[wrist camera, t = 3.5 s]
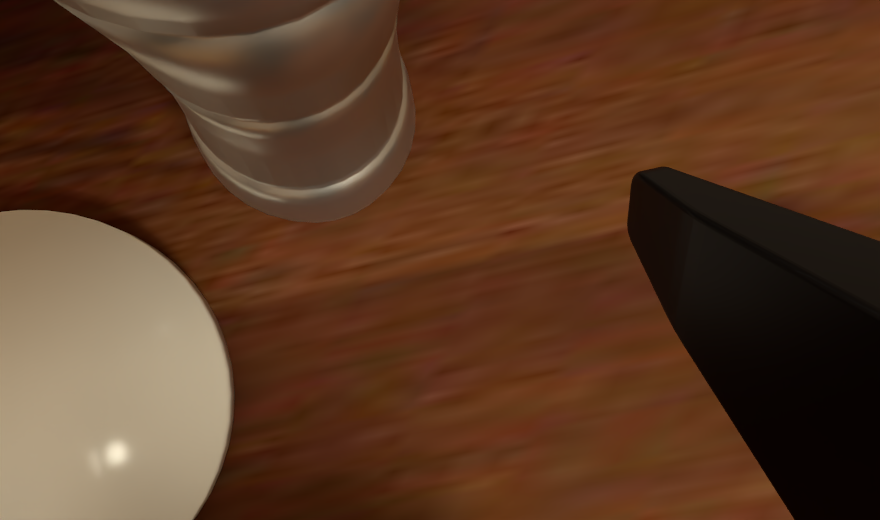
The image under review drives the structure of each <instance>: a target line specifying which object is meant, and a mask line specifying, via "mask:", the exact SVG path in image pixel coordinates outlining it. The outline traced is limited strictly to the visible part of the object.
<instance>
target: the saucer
mask: <svg viewBox="0 0 880 520" xmlns="http://www.w3.org/2000/svg"><path fill="white" fill-rule="evenodd" d="M234 401H235V390H234V380H233V369H232V364H231V360H230V356H229V351H228V347H227V343H226V341H225V338H224V335H223V333H222V330H221V328H220V325H219V322H218V320H217V318H216V317H215V315H214V313H213V311H212V309H211V307H210V306H209V304H208V302H207V300H206V299H205V297H204V296H203V295H202V293H201V292H200V291H199V289H198V288H197V287H196V285H195V284H194V283H193V281H192V280H191V279H190V278H189V277H188V276H187V275H186V274H185V273H184V272H183V271H182V270H181V269H180V268H179V267H178V266H177V265H176V264H175V263H174V262H173V261H172V260H170V259H169V258H168V257H166V256H165V255H164V254H163V253H161V252H160V251H159V250H157V249H156V248H154V247H153V246H151V245H149V244H148V243H146V242H144V241H142V240H141V239H139V238H137V237H136V236H133V235H131V234H129V233H126V232H124V231H121V230H119V229H117V228H114V227H112V226H109V225H107V224H104V223H102V222H99V221H96V220H93V219H89V218H85V217H82V216H78V215H74V214H69V213H62V212H55V211H48V210H14V211H5V212H0V520H194V519H195V518H196V517H197V515H198V514H199V512H200V510H201V509H202V507H203V505H204V504H205V502H206V500H207V499H208V497H209V495H210V494H211V492H212V490H213V487H214V485H215V483H216V481H217V479H218V476H219V474H220V472H221V470H222V467H223V464H224V460H225V457H226V454H227V450H228V447H229V444H230V438H231V432H232V426H233V420H234Z"/></svg>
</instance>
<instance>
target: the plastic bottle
mask: <svg viewBox="0 0 880 520" xmlns="http://www.w3.org/2000/svg"><path fill="white" fill-rule="evenodd" d="M54 1H56V2H57V3H58V4H60V5H61V6H62V7H64V8H65V9H67V10H68V11H70V12H71V13H72V14H74V15H75V16H77V17H78V18H80V19H81V20H82V21H84V22H85V23H87V24H88V25H90V26H91V27H92V28H94V29H95V30H97V31H98V32H100V33H101V34H103V35H104V36H105V37H107V38H108V39H110V40H111V41H113V42H114V43H115V44H117V45H118V46H120V47H121V48H123V49H124V50H125V51H127V52H128V53H129V54H130V55H131V56H132V57H133V58H134V59H135V60H136V61H137V62H139V63H140V64H141V65H142V66H143V67H144V68H145V69H146V70H147V71H148V72H149V73H150V74H151V75H152V76H153V77H154V78H155V79H156V80H158V81H159V82H160V83H162V84H163V85H164V87H165V88H166V89H167V90H168V91H169V92H170V93H171V94H172V95H173V96H174V98H175V99H176V101H177V103H178V104H179V106H180V107H181V109H182V111H183V112H184V114H185V117H186V120H187V122H188V125H189V128H190V131H191V134H192V136H193V139H194V141H195V143H196V145H197V147H198V149H199V151H200V153H201V155H202V156H203V158H204V160H205V161H206V163H207V165H208V166H209V168H210V170H211V171H212V173H213V174H214V176H215V177H216V178H217V179H218V180H219V181H220V182H221V183H222V184H223V185H224V186H225V188H226V189H227V190H228V191H229V192H231V193H232V194H233V195H235V196H236V197H237V198H239V199H240V200H241V201H243V202H244V203H246V204H247V205H249V206H251V207H253V208H255V209H257V210H259V211H261V212H264V213H266V214H268V215H272V216H275V217H279V218H283V219H287V220H292V221H300V222H315V223H317V222H325V221H333V220H338V219H341V218H344V217H347V216H349V215H352V214H355V213H356V212H358V211H360V210H362V209H363V208H365V207H367V206H369V205H370V204H371V203H372V202H374V201H375V200H376V199H377V198H378V197H379V196H380V195H381V194H382V193H384V192H385V191H386V190H387V189H388V187H389V186H390V185H391V184H392V182H393V181H394V180H395V178H396V177H397V175H398V174H399V173H400V171H401V170H402V168H403V166H404V164H405V161H406V159H407V157H408V155H409V153H410V150H411V145H412V141H413V137H414V132H415V105H414V100H413V95H412V89H411V85H410V81H409V76H408V72H407V69H406V67H405V64H404V62H403V59H402V57H401V54H400V52H399V46H398V39H397V32H396V25H397V12H398V8H399V0H54Z"/></svg>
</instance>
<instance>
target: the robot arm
mask: <svg viewBox="0 0 880 520" xmlns="http://www.w3.org/2000/svg"><path fill="white" fill-rule="evenodd" d="M627 226H628V233H629V237H630V240H631V242H632V244H633V246H634V248H635V250H636V252H637V254H638V257H639V259H640V261H641V263H642V265H643V267H644V269H645V271H646V273H647V275H648V277H649V279H650V282H651V284H652V286H653V288H654V290H655V292H656V294H657V296H658V298H659V300H660V302H661V305H662V307H663V309H664V311H665V313H666V315H667V317H668V319H669V321H670V323H671V325H672V326H673V328H674V330H675V332H676V333H677V335H678V337H679V338H680V340H681V342H682V343H683V345H684V347H685V348H686V350H687V351H688V353H689V354H690V356H691V358H692V359H693V361H694V362H695V364H696V365H697V367H698V369H699V370H700V372H701V373H702V375H703V376H704V378H705V380H706V381H707V383H708V384H709V386H710V387H711V389H712V391H713V392H714V394H715V395H716V397H717V398H718V400H719V402H720V403H721V405H722V406H723V408H724V409H725V411H726V413H727V414H728V416H729V417H730V419H731V421H732V422H733V424H734V425H735V427H736V428H737V430H738V432H739V433H740V435H741V436H742V438H743V439H744V441H745V443H746V444H747V446H748V447H749V449H750V450H751V452H752V454H753V455H754V457H755V458H756V460H757V461H758V463H759V465H760V466H761V468H762V469H763V471H764V472H765V474H766V476H767V477H768V479H769V480H770V482H771V483H772V485H773V487H774V488H775V490H776V491H777V493H778V494H779V496H780V498H781V499H782V501H783V502H784V504H785V505H786V507H787V509H788V510H789V512H790V513H791V515H792V516H793V518H794V520H880V241H877V240H875V239H872V238H869V237H866V236H863V235H860V234H857V233H855V232H852V231H849V230H846V229H843V228H840V227H837V226H834V225H832V224H829V223H826V222H823V221H820V220H817V219H814V218H812V217H809V216H806V215H803V214H800V213H797V212H794V211H792V210H789V209H786V208H783V207H780V206H777V205H774V204H772V203H769V202H766V201H763V200H760V199H757V198H754V197H752V196H749V195H746V194H743V193H740V192H737V191H734V190H732V189H729V188H726V187H723V186H720V185H717V184H714V183H712V182H709V181H706V180H703V179H700V178H697V177H694V176H692V175H689V174H686V173H683V172H680V171H677V170H674V169H672V168H669V167H658V168H654V169H649V170H645V171H640V172H638V173H637V174H636V175H635V176H634V177H633V179H632V183H631V192H630V201H629V211H628V221H627Z"/></svg>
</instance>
